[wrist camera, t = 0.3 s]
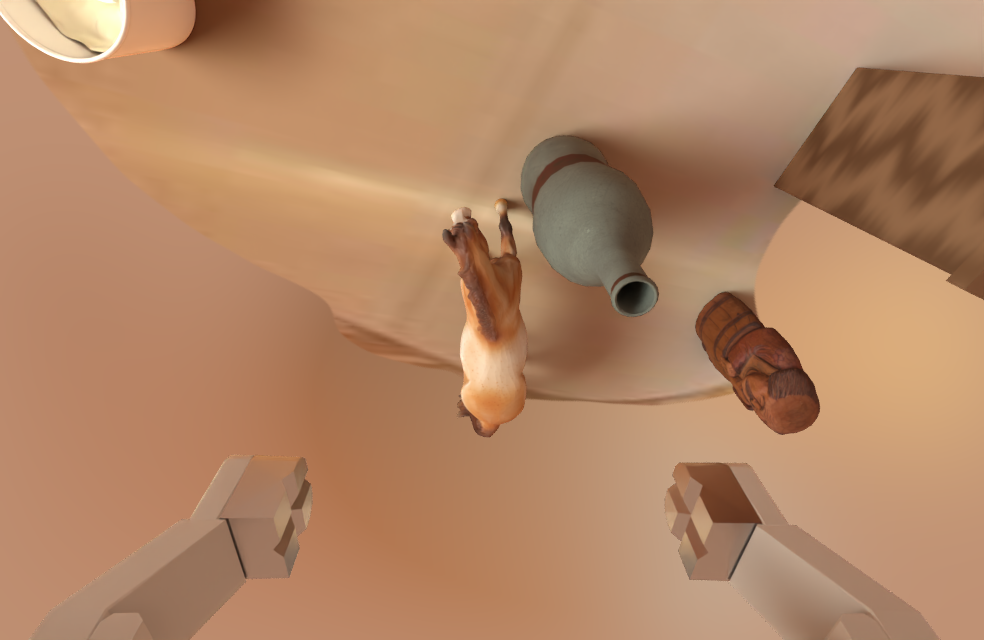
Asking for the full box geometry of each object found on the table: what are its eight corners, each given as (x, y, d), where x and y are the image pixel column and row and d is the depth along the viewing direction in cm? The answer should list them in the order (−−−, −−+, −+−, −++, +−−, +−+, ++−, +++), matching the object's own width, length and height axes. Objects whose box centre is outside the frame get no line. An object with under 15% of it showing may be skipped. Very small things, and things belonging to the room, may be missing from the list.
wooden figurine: (685, 304, 63) (753, 392, 48) (734, 283, 62) (821, 366, 46) (709, 370, 68) (778, 469, 53) (755, 352, 67) (840, 447, 51)
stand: (857, 60, 50) (1174, 78, 27) (928, 102, 52) (1278, 152, 29) (767, 188, 56) (964, 289, 33) (834, 221, 58) (1062, 337, 35)
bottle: (502, 190, 55) (525, 326, 29) (545, 113, 51) (616, 190, 25) (572, 228, 58) (651, 385, 32) (618, 157, 54) (751, 269, 28)
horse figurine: (453, 161, 54) (441, 223, 36) (524, 162, 54) (548, 225, 36) (457, 389, 69) (450, 512, 51) (512, 389, 69) (525, 512, 51)
